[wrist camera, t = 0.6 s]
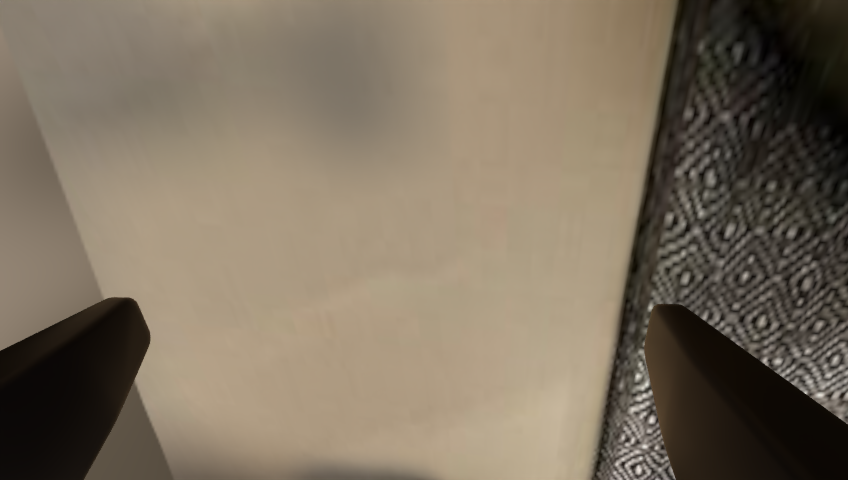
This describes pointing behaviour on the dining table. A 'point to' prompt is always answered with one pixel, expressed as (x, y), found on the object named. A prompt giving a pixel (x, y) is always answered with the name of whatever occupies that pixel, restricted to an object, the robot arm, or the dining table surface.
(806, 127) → the dining table surface
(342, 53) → the dining table surface
